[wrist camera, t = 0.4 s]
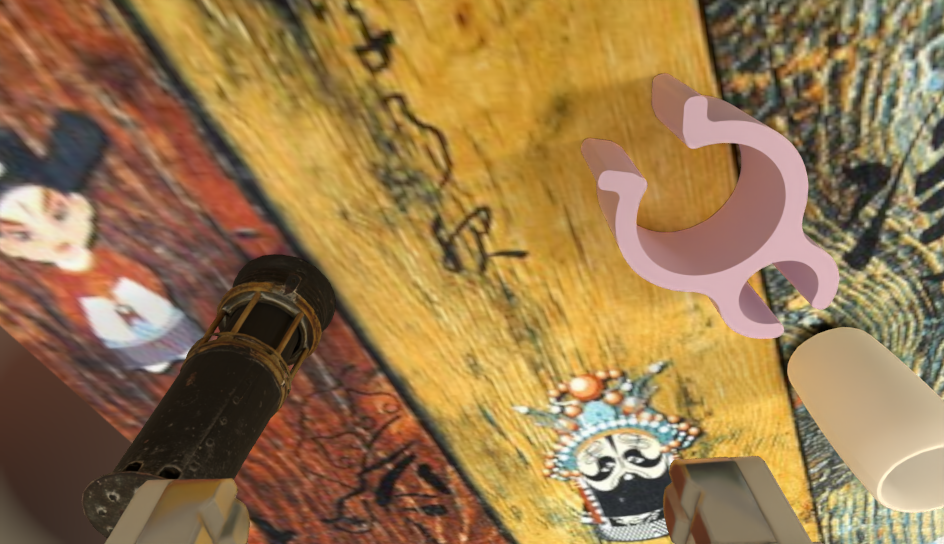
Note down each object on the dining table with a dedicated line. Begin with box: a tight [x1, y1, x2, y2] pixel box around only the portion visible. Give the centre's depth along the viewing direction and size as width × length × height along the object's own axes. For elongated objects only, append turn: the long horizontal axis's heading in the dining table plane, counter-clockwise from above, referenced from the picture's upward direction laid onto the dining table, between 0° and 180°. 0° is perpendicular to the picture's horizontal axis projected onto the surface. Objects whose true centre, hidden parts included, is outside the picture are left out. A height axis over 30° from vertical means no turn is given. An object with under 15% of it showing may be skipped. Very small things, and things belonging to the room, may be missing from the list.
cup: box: [787, 327, 944, 513], centre depth 44 cm, size 8×8×14 cm
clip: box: [581, 73, 839, 339], centre depth 39 cm, size 20×12×7 cm, turn 46°
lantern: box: [82, 255, 336, 538], centre depth 35 cm, size 9×9×30 cm
